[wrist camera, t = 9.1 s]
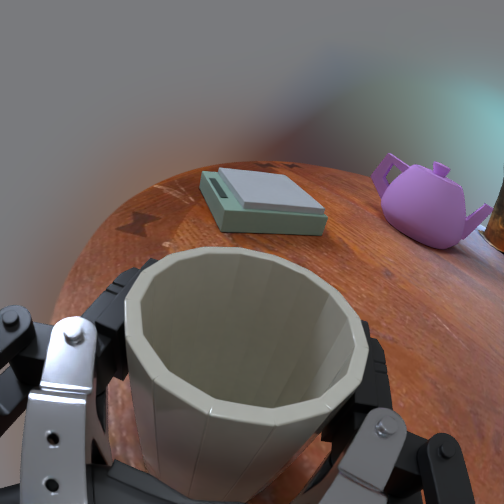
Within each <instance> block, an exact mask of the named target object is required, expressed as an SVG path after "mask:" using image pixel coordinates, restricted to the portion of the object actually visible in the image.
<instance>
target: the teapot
mask: <svg viewBox="0 0 504 504" xmlns="http://www.w3.org/2000/svg"><path fill="white" fill-rule="evenodd" d="M393 164H394V165H395V166H396V167H397V168H398V169H400V170H401V171H402V173H401V174H400V175H399V176H398V177H397V178H396V179H394V180H393V182H392V183H391V184H390V185H389V183H388V181H387V179H386V176H387V174H388V172H389V171H390V169H391V168H392V166H393ZM449 171H450V168H448V167H446V166H445V165H443V164H441V163H438V162H434V163H433V171H432V170H430V169H428V168H426V167H423V166H420V165H417V164H415V165H412V166H411V167H410V166H408V165H407V164H405V163H404V162H403V161H401V160H400V159H398V158H397V157H395V156H394V155H392V154H391V153H388V154H387V155H386V156H385V158H384V159H383V160H382V162H381V163H380V164H379V166H378V167H377V168H376V170H375V171H374V172H373V173H372V175H371V178H372V180H373V183H374V185H375V187H376V189H377V191H378V193H379V196H380V198H381V206H382V210H383V213H384V216H385V218H386V220H387V221H388V222H389V223H390V224H391V225H392V226H393V227H395V228H396V229H397V230H399V231H400V232H402V233H403V234H405V235H407V236H408V237H410V238H412V239H414V240H416V241H418V242H420V243H422V244H425V245H427V246H430V247H433V248H437V249H447V248H449V247H452V246H454V245H456V244H457V243H458V242H459V241H460V240H461V239H463V240H464V239H465V238H466V237H467V236H468V235H469V234H470V233H471V232H472V231H473V230H474V229H475V228H476V227H477V226H478V225H479V224H480V223H481V222H482V221H483V220H484V219H485V218H486V217H487V216H488V215H489V214H490V213H491V212H492V211H493V208H492V207H490V206H489V205H487V204H484V205H483V206H482V207H480V208H479V209H477V210H476V211H475V212H473V213H472V214H471V215H469V216H468V217H466V212H465V211H466V209H465V199H464V193H463V189H462V187H461V186H460V185H459V184H457V183H455V182H454V181H452V180H450V179H448V178H447V177H445V176H446V175H447V174H448V173H449Z"/></svg>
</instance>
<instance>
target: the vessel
mask: <svg viewBox="0 0 504 504" xmlns="http://www.w3.org/2000/svg"><path fill="white" fill-rule="evenodd" d="M478 231H479V233H480V234H481V235H482V236H483V237H484V239H485V240H486V241H487V242H488V243H489V244H490V245H491V246H494V247H495V248H496V249H498V250H500V251H502V252H504V179H503V184H502V187H501V190H500V193H499V196H498V199H497V201H496V203H495V206H494V208H493V211H492V214H491V217H490V220H489V222H488V225H487V227H486V230H485V231H484V232H483V231H480V230H478Z"/></svg>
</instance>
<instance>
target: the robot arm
mask: <svg viewBox="0 0 504 504" xmlns="http://www.w3.org/2000/svg"><path fill="white" fill-rule="evenodd" d="M158 261H159V260H156V259H152V258H150V259H149V260H148V261H147V262H146V263H145V264H144V265H143V266H142V267H141V269H137V268H134V267H133V268H131V269H129V270H127V271H125V272H123V273H121V274H120V275H119V276H118V277H117V278H116V279H115V280H114V281H113V283H112V284H110V285H109V286H108V287H107V288H106V291H104V292H103V293H102V294H101V295H100V296H99V297H98V298H97V299H96V300H95V301H94V302H93V304H92V305H91V306H90V307H89V308H88V309H87V310H86V311H85V312H84V313H83V315H82V316H81V317H68V318H65V319H63V320H61V321H59V322H58V323H57V324H56V325H55V326H54V325H48V324H42V323H37V322H33V321H32V318H31V315H30V312H29V311H28V310H27V309H26V308H25V307H22V306H19V305H11V306H7V307H5V308H2V309H1V310H0V369H2V368H3V367H4V366H5V365H6V364H7V363H8V362H9V364H10V366H9V367H8V368H7V369H6V370H5V371H4V372H3V373H2V374H0V437H1V436H2V435H3V434H4V433H5V431H6V430H7V429H8V428H9V427H10V426H11V425H12V424H13V422H15V421H16V419H17V418H18V417H19V416H20V415H21V414H22V413H23V412H24V411H25V410H26V416H25V424H24V432H23V441H22V453H21V470H20V483H19V484H15V485H12V486H8V487H4V488H0V504H246V503H242V502H229V501H205V500H194V499H190V498H188V497H186V496H185V495H183V494H181V493H180V492H178V491H176V490H175V489H173V488H171V487H170V486H168V485H167V484H165V483H163V482H162V481H160V480H159V479H157V478H156V477H154V476H153V475H150V474H148V473H145V472H143V471H140V470H138V469H136V468H133V467H131V466H129V465H127V464H124V463H122V462H120V461H118V460H116V459H115V460H114V462H113V463H112V454H111V448H110V443H109V434H108V384H109V382H110V381H111V379H112V377H116V378H118V379H120V380H122V381H124V379H125V377H126V376H127V374H128V372H129V371H128V362H127V353H126V342H125V323H124V301H125V297H126V296H127V294H128V293H129V291H130V289H131V288H132V286H133V284H134V283H135V281H136V279H137V278H138V276H139V275H140V273H141V272H142V271H143V270H145V269H146V268H148V267H149V266H151V265H153V264H154V263H156V262H158ZM361 323H362V326H363V329H364V333H365V336H366V339H367V343H368V346H369V353H368V357H367V362H366V366H365V370H364V374H363V379H362V382H361V383H360V385H359V387H358V388H357V389H356V390H355V392H354V393H353V394H352V396H351V397H350V398H349V399H348V401H347V402H346V403H345V404H344V405H343V407H342V408H341V409H340V410H339V412H338V413H337V414H336V415H335V416H334V418H333V419H332V420H331V421H330V422H329V423H328V425H327V426H326V427H325V428H324V429H323V430H322V434H321V441H325V442H332V450H331V451H330V452H329V453H328V454H327V455H326V457H325V458H324V460H323V461H322V463H321V464H320V466H319V467H318V468H317V470H316V471H315V473H314V474H313V475H312V477H311V478H310V480H309V481H308V482H307V484H306V485H305V486H304V488H303V489H302V490H301V492H300V493H299V494H298V495H297V496H296V497H295V498H294V500H292V501H291V502H290V503H289V504H423V501H422V496H421V490H422V489H423V490H424V495H425V501H426V504H475V501H474V496H473V492H472V488H471V484H470V480H469V476H468V472H467V468H466V465H465V461H464V458H463V454H462V451H461V448H460V445H459V444H458V442H457V441H456V439H455V438H453V437H452V436H451V435H449V434H446V433H437V434H435V435H434V436H433V437H431V438H430V439H429V440H427V439H425V438H422V437H420V436H417V435H415V434H413V433H410V432H408V431H407V428H406V425H405V422H404V420H403V419H402V418H401V416H400V415H399V414H397V413H396V412H395V411H393V408H392V400H391V393H390V386H389V379H388V375H387V367H386V365H385V363H386V361H385V355H384V350H383V349H382V347H381V345H380V344H379V342H378V340H377V339H375V338H370V332H369V326H368V322H366V321H363V320H361Z"/></svg>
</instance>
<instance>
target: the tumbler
mask: <svg viewBox="0 0 504 504" xmlns="http://www.w3.org/2000/svg"><path fill="white" fill-rule="evenodd" d="M124 323H125V342H126V353H127V362H128V371H129V379H130V386H131V393H132V400H133V407H134V413H135V419H136V424H137V430H138V435H139V440H140V445H141V450H142V454H143V459H144V463H145V466H146V468H147V470H148V472H149V474H150V475H153V476H154V477H156V478H157V479H159V480H160V481H162V482H163V483H165V484H167V485H168V486H170V487H171V488H173V489H175V490H176V491H178V492H180V493H181V494H183V495H185V496H186V497H188V498H190V499H194V500H205V501H229V502H242V503H245V502H247V501H249V500H250V499H252V498H253V497H255V496H256V495H257V494H258V493H260V492H261V491H262V490H264V489H265V488H266V487H267V486H268V485H270V484H271V483H272V482H273V481H274V480H275V479H276V478H277V477H278V476H279V475H280V474H281V473H282V472H283V471H284V470H285V469H286V468H287V467H288V466H289V465H290V464H291V463H292V462H293V461H294V460H295V459H296V458H297V457H298V456H299V455H300V454H301V453H302V452H303V451H304V450H305V449H306V448H307V447H308V446H309V445H310V444H311V442H312V441H313V440H314V439H315V438H316V437H317V436H318V435H319V434H320V433H321V431H322V430H323V429H324V428H325V427H326V426H327V425H328V423H329V422H330V421H331V420H332V419H333V418H334V416H335V415H336V414H337V413H338V412H339V410H340V409H341V408H342V407H343V405H344V404H345V403H346V402H347V401H348V399H349V398H350V397H351V396H352V394H353V393H354V392H355V390H356V389H357V388H358V387H359V385H360V383H361V382H362V379H363V374H364V370H365V366H366V362H367V357H368V353H369V346H368V343H367V339H366V336H365V333H364V329H363V326H362V323H361V320H360V318H359V316H358V315H357V313H356V312H355V311H354V310H353V308H352V307H351V306H350V305H349V303H348V302H347V301H346V300H345V298H344V297H343V296H342V295H341V293H340V292H338V290H336V289H335V288H334V287H332V286H331V285H329V284H328V283H327V282H325V281H324V280H323V279H321V278H320V277H318V276H317V275H316V274H314V273H313V272H311V271H309V270H308V269H306V268H303V267H301V266H299V265H297V264H294V263H292V262H290V261H287V260H285V259H283V258H281V257H278V256H275V255H271V254H267V253H263V252H258V251H254V250H249V249H245V248H239V247H200V248H195V249H191V250H186V251H182V252H177V253H173V254H170V255H167V256H166V257H164V258H163V259H161V260H159V261H158V262H156V263H154V264H153V265H151V266H149V267H148V268H146V269H145V270H143V271H142V272H141V273H140V275H139V276H138V278H137V279H136V281H135V283H134V284H133V286H132V288H131V289H130V291H129V293H128V294H127V296H126V297H125V301H124Z"/></svg>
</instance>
